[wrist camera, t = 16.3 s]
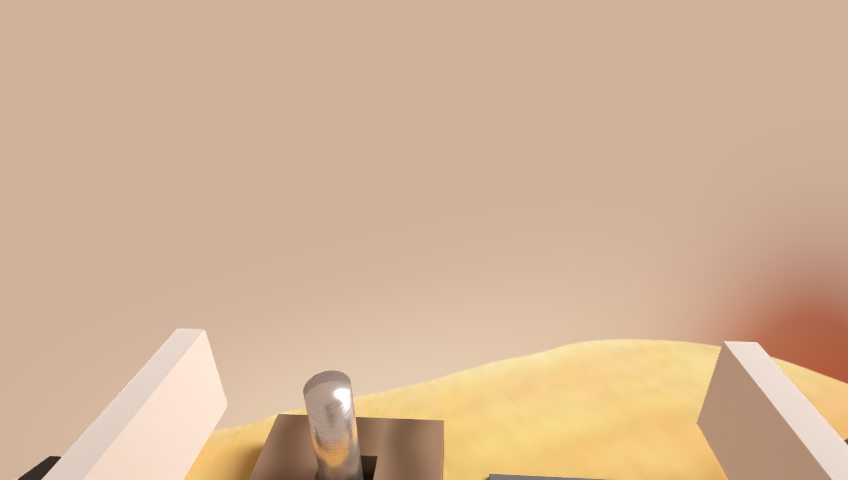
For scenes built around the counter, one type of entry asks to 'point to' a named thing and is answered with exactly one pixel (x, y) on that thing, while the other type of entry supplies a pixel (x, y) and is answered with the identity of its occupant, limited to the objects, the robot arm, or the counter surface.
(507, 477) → the rubber mat
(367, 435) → the socket block
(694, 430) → the counter surface
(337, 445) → the metal pin
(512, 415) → the counter surface
